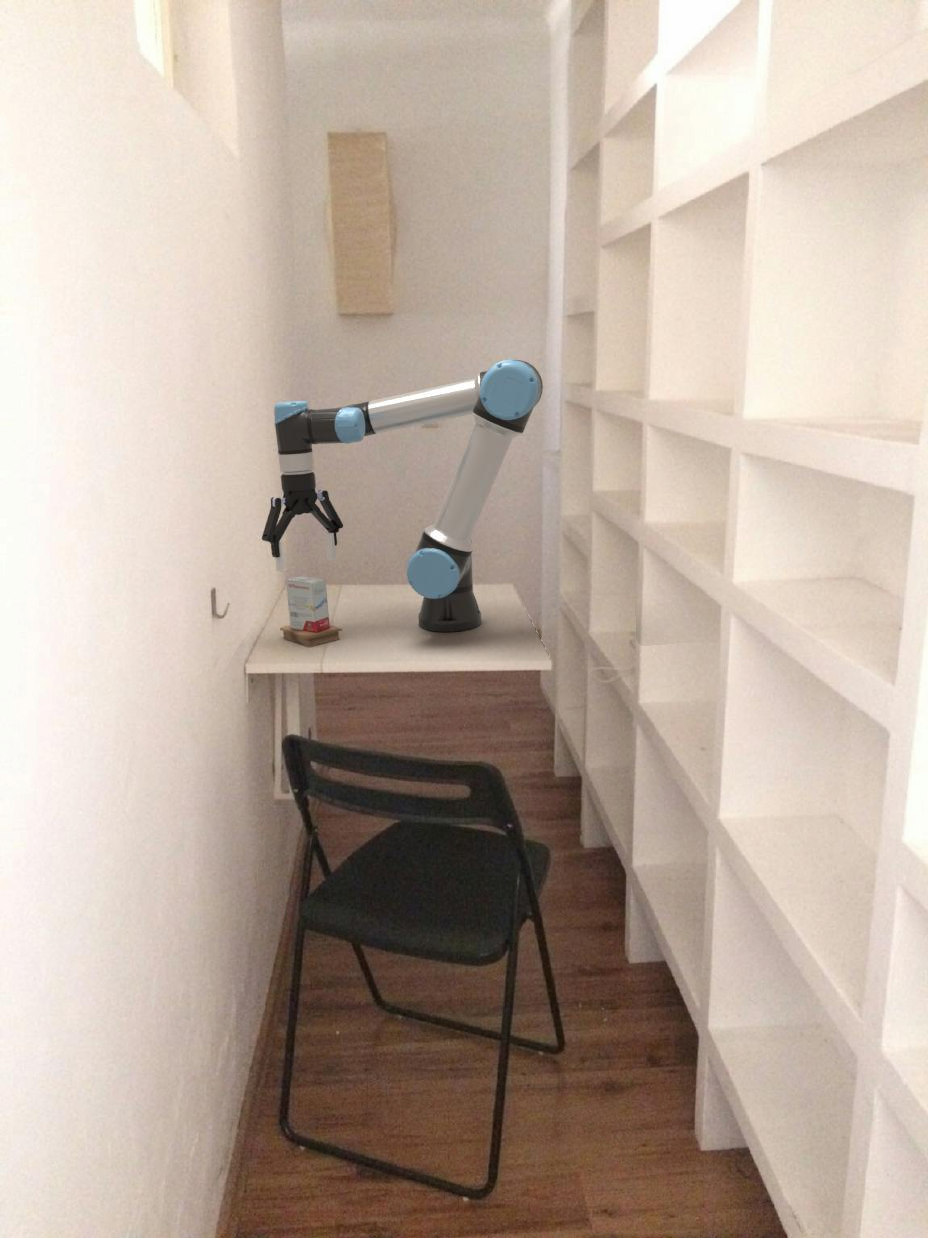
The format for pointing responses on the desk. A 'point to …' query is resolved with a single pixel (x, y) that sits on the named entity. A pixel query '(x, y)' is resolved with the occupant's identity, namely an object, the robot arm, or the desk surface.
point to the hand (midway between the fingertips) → (307, 565)
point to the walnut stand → (311, 635)
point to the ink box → (307, 604)
